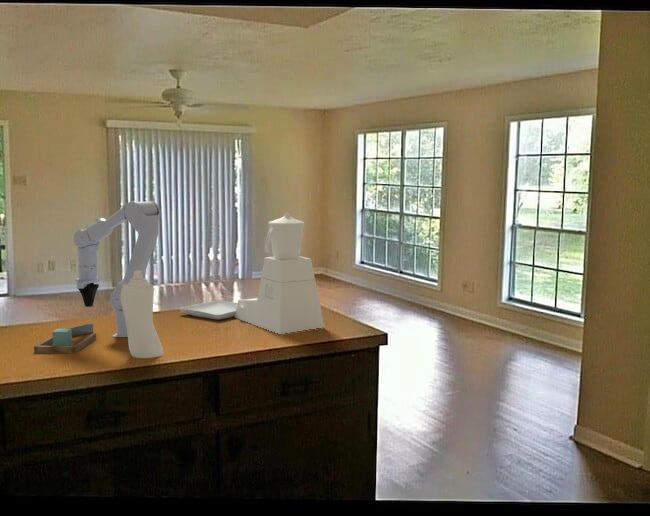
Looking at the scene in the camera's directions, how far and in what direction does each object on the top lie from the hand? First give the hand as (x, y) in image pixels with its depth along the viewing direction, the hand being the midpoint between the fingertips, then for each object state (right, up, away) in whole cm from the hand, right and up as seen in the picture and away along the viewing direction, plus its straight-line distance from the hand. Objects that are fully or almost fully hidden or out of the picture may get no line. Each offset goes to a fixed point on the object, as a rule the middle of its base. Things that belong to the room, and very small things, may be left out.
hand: (89, 306), depth 210 cm
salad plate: (+38, -6, +29) cm, 48 cm away
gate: (-2, -9, -7) cm, 12 cm away
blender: (+61, -8, +13) cm, 63 cm away
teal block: (+1, -11, -23) cm, 25 cm away
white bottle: (+27, -13, -30) cm, 42 cm away
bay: (+1, -11, -21) cm, 23 cm away
